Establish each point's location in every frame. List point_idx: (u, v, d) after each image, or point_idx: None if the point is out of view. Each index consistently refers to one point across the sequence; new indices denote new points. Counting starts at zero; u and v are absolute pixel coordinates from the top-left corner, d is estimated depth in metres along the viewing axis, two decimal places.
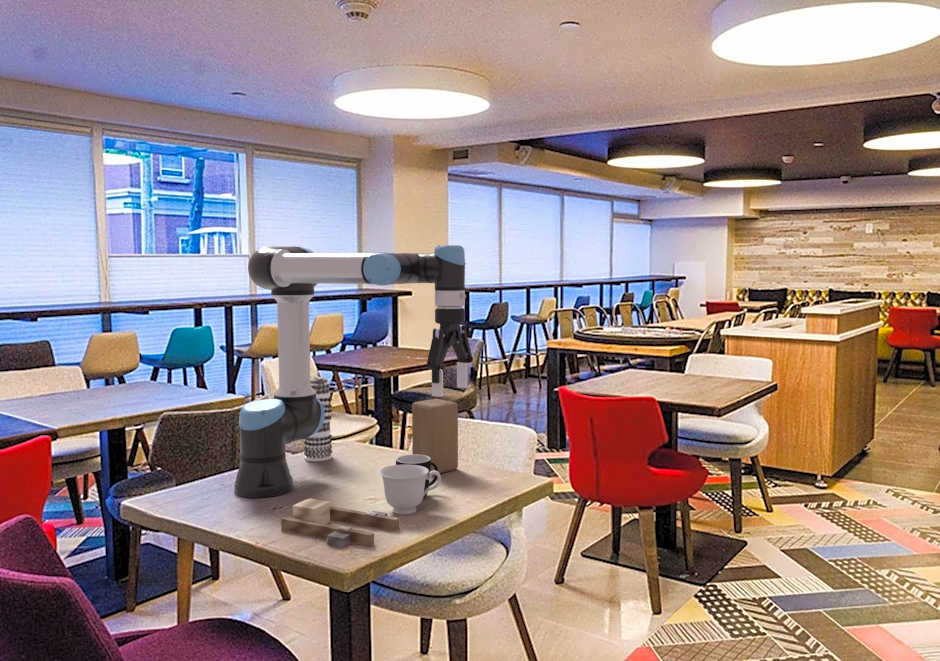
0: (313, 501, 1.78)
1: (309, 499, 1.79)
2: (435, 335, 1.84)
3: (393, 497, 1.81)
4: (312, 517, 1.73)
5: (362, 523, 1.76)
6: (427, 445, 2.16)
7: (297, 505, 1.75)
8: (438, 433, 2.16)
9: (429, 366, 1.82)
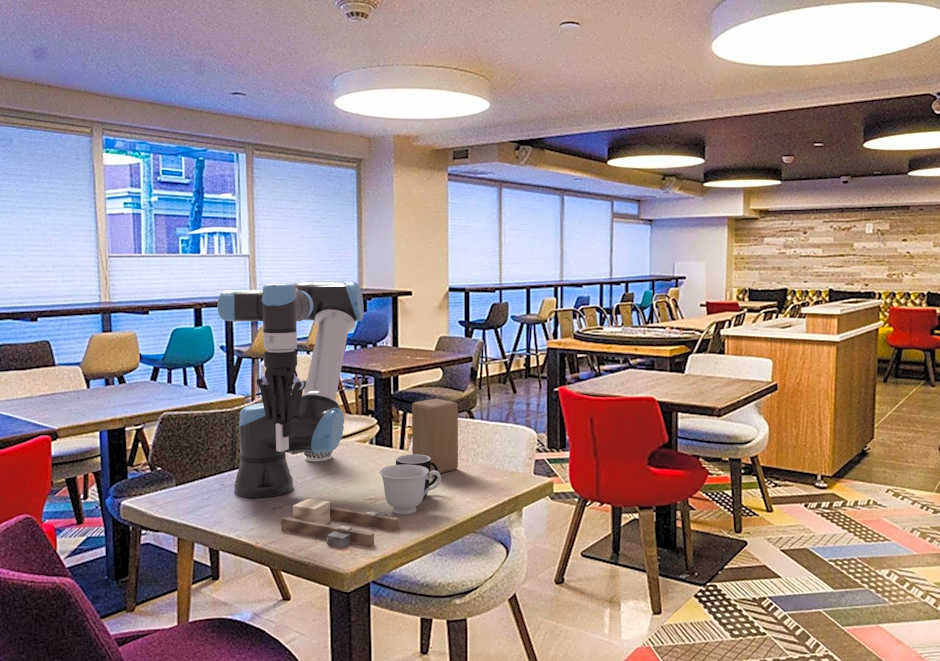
0: (313, 501, 1.78)
1: (309, 499, 1.79)
2: None
3: (393, 497, 1.81)
4: (312, 517, 1.73)
5: (362, 523, 1.76)
6: (427, 445, 2.16)
7: (297, 505, 1.75)
8: (438, 433, 2.16)
9: None
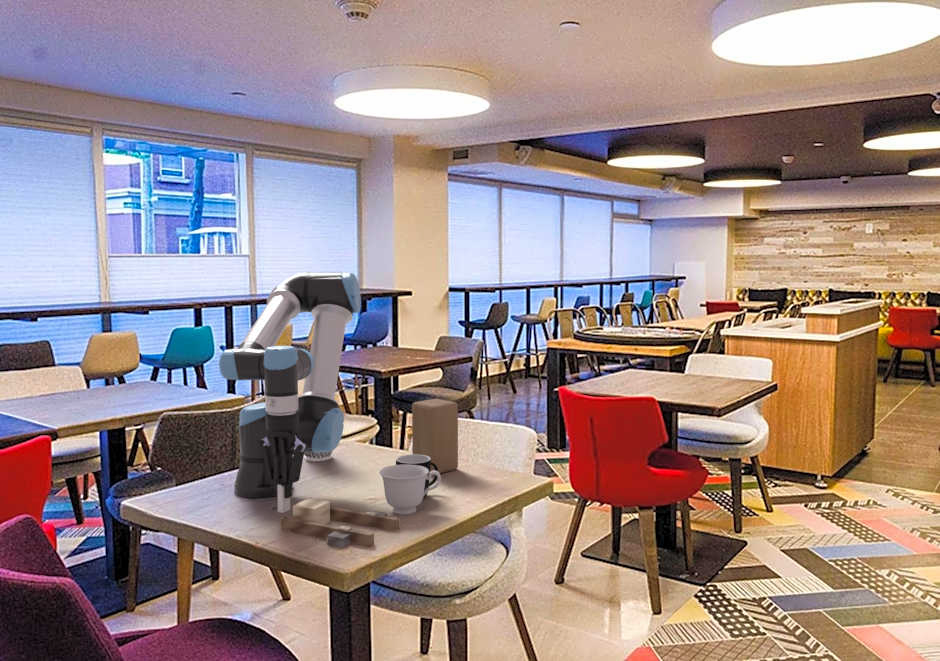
0: (313, 501, 1.78)
1: (309, 499, 1.79)
2: None
3: (393, 497, 1.81)
4: (312, 517, 1.73)
5: (362, 523, 1.76)
6: (427, 445, 2.16)
7: (297, 505, 1.75)
8: (438, 433, 2.16)
9: None
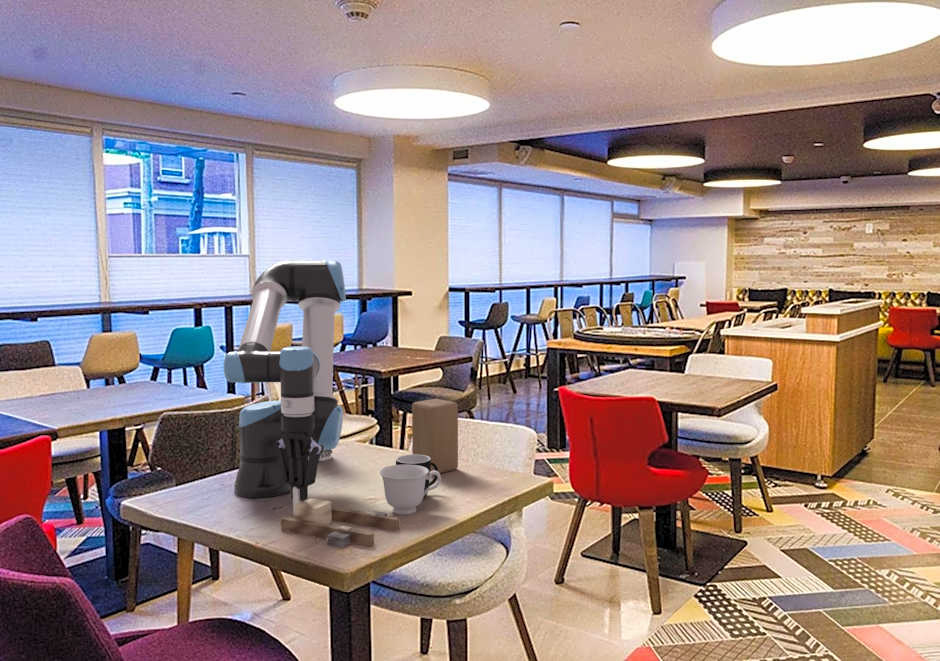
0: (315, 501, 1.77)
1: (310, 499, 1.79)
2: None
3: (393, 497, 1.81)
4: (313, 517, 1.72)
5: (362, 523, 1.76)
6: (427, 445, 2.16)
7: (298, 505, 1.74)
8: (438, 433, 2.16)
9: None
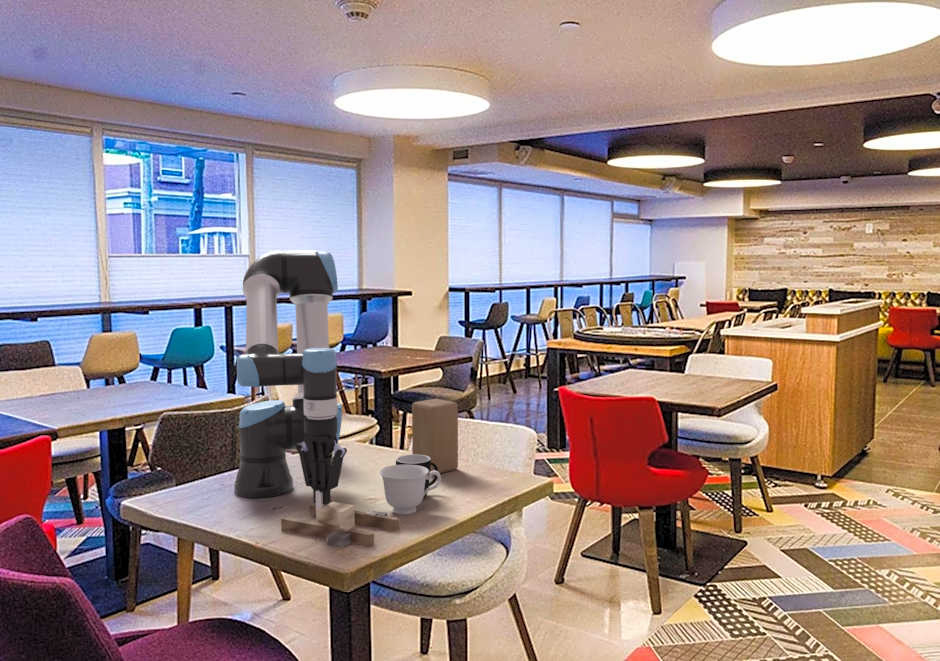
0: (338, 505, 1.75)
1: (333, 503, 1.76)
2: None
3: (393, 497, 1.81)
4: (337, 522, 1.69)
5: (362, 523, 1.76)
6: (427, 445, 2.16)
7: (321, 509, 1.72)
8: (438, 433, 2.16)
9: None
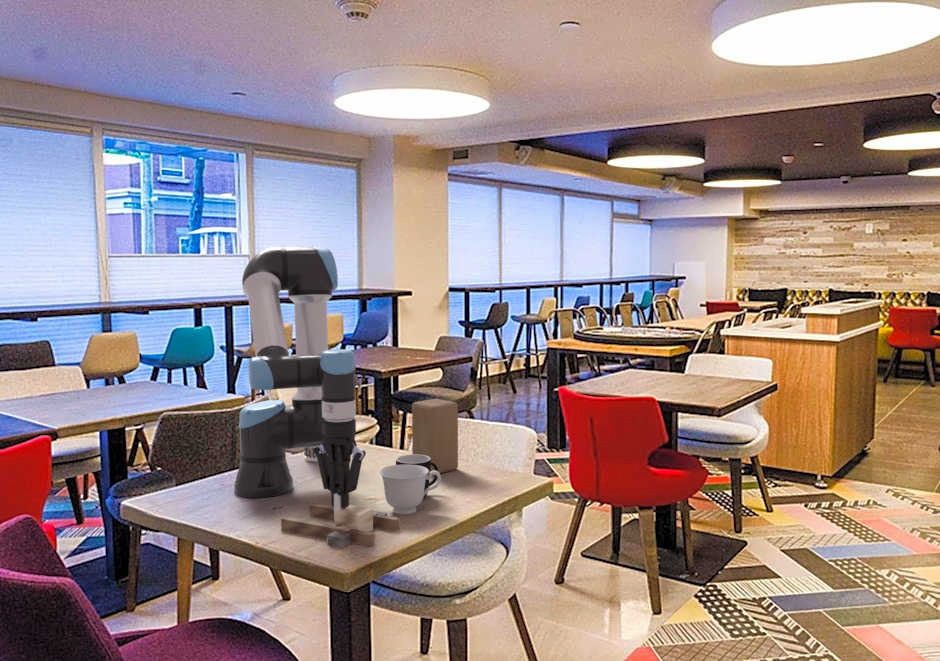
0: (356, 508, 1.72)
1: (351, 506, 1.74)
2: None
3: (393, 497, 1.81)
4: (355, 525, 1.67)
5: None
6: (427, 445, 2.16)
7: (340, 512, 1.70)
8: (438, 433, 2.16)
9: None
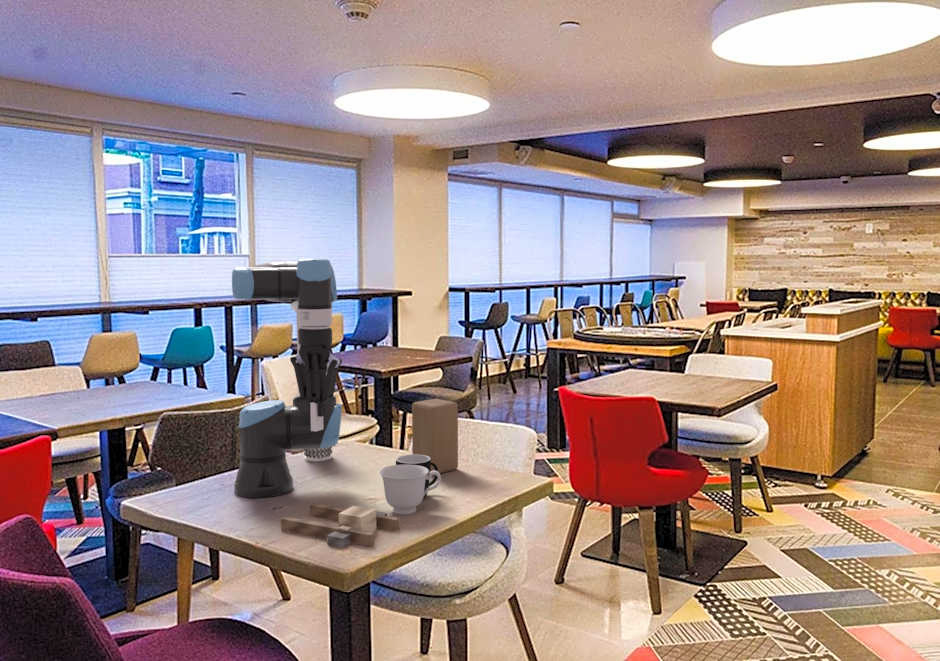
0: (359, 509, 1.72)
1: (354, 507, 1.74)
2: None
3: (393, 497, 1.81)
4: (359, 526, 1.67)
5: None
6: (427, 445, 2.16)
7: (343, 513, 1.69)
8: (438, 433, 2.16)
9: None
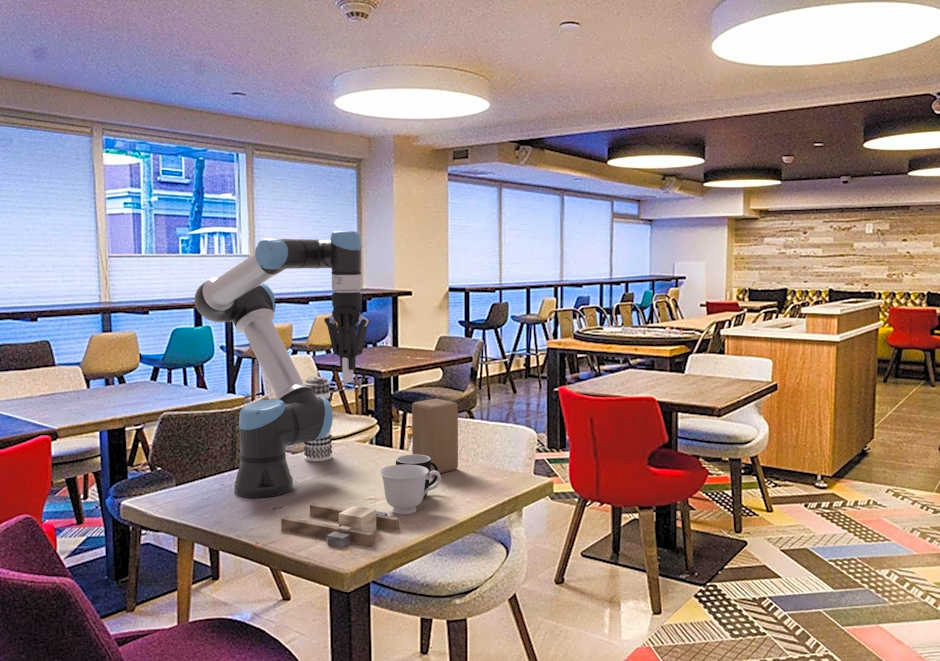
0: (359, 509, 1.72)
1: (354, 507, 1.73)
2: None
3: (393, 497, 1.81)
4: (359, 526, 1.67)
5: None
6: (427, 445, 2.16)
7: (343, 513, 1.69)
8: (438, 433, 2.16)
9: None
